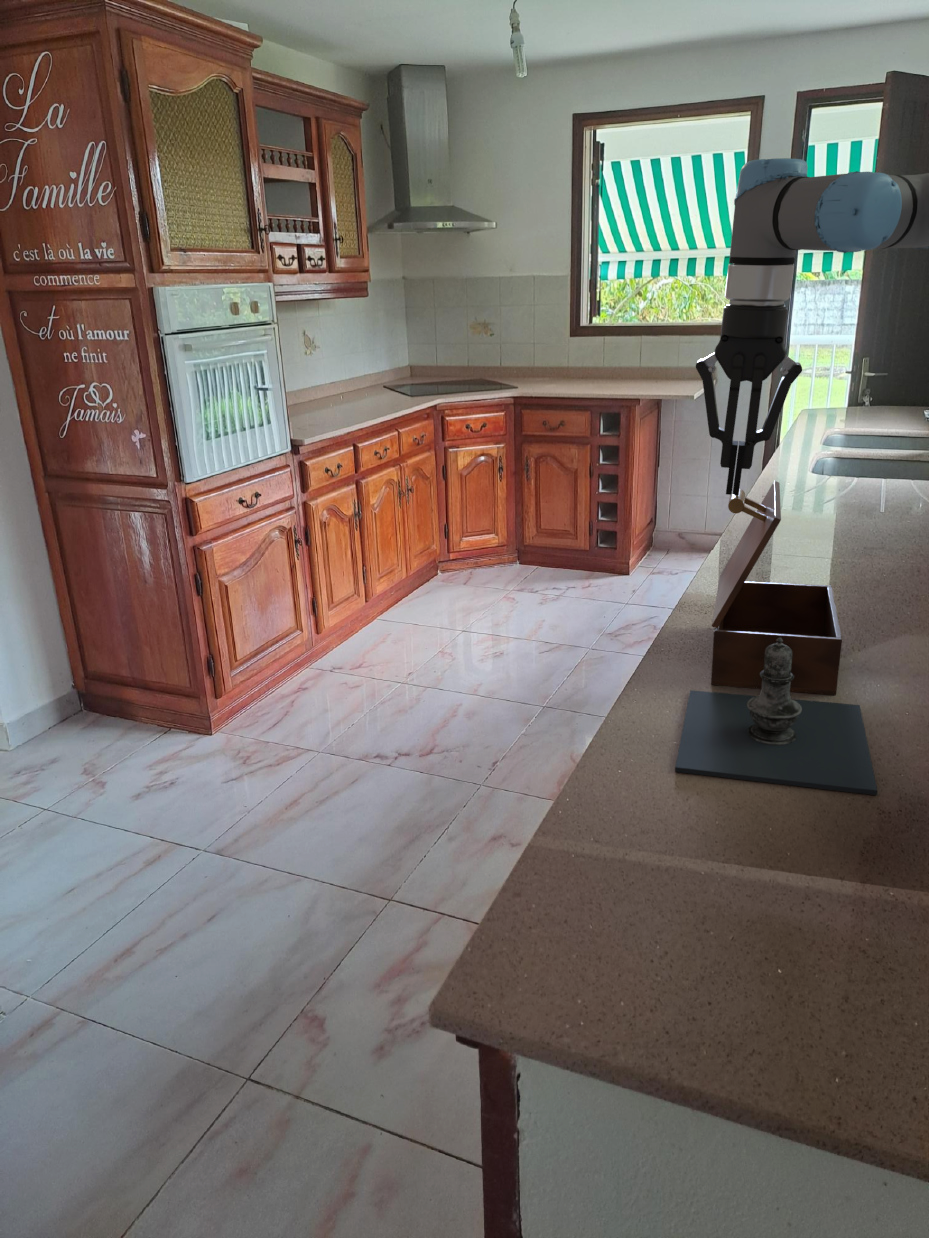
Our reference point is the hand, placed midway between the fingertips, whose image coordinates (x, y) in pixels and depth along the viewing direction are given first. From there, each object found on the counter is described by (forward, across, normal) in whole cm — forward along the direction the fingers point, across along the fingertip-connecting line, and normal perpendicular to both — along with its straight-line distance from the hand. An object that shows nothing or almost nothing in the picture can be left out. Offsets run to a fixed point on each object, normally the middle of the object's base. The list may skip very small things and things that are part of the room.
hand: (732, 492), depth 116 cm
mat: (+22, -8, +25) cm, 34 cm away
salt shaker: (+22, -8, +25) cm, 34 cm away
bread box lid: (+8, -3, 0) cm, 9 cm away
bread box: (+23, -8, +1) cm, 24 cm away
